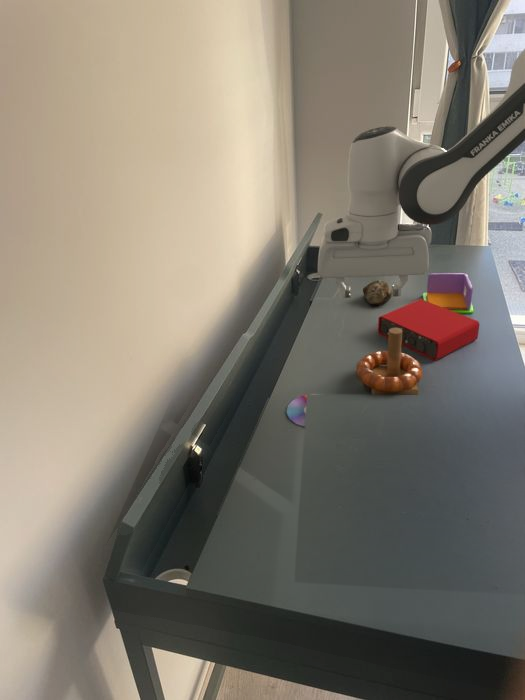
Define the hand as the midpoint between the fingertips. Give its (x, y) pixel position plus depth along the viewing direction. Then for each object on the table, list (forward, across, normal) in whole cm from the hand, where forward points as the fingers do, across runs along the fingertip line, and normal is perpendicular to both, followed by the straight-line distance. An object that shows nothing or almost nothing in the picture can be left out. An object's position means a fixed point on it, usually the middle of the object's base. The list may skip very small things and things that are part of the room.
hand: (371, 296), depth 101 cm
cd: (+20, +11, +10) cm, 25 cm away
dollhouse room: (+20, -23, -38) cm, 49 cm away
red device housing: (+20, -15, -20) cm, 32 cm away
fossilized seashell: (+20, -5, -41) cm, 46 cm away
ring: (+17, -4, 0) cm, 18 cm away
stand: (+20, -5, 0) cm, 21 cm away
